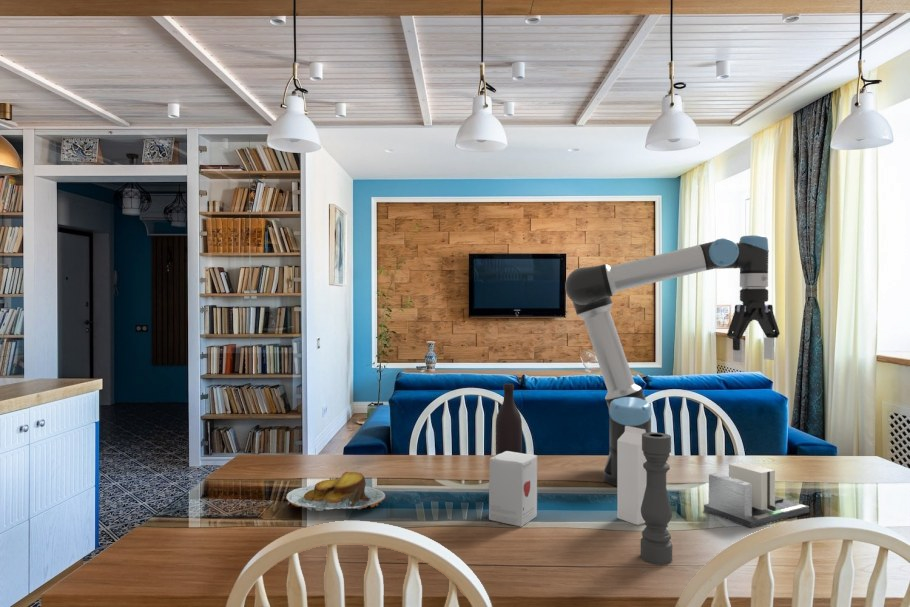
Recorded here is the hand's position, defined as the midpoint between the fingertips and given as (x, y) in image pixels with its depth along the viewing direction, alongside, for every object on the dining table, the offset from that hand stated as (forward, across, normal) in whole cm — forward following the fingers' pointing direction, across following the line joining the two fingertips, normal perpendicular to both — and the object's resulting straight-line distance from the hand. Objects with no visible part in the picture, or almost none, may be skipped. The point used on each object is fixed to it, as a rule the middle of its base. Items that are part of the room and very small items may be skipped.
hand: (753, 360), depth 180 cm
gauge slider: (+32, -27, -20) cm, 46 cm away
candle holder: (+35, -67, -27) cm, 81 cm away
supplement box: (+35, -80, +6) cm, 88 cm away
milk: (+35, -55, -9) cm, 66 cm away
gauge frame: (+35, -25, -19) cm, 47 cm away
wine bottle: (+35, -72, +21) cm, 83 cm away
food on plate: (+35, -115, +36) cm, 126 cm away
